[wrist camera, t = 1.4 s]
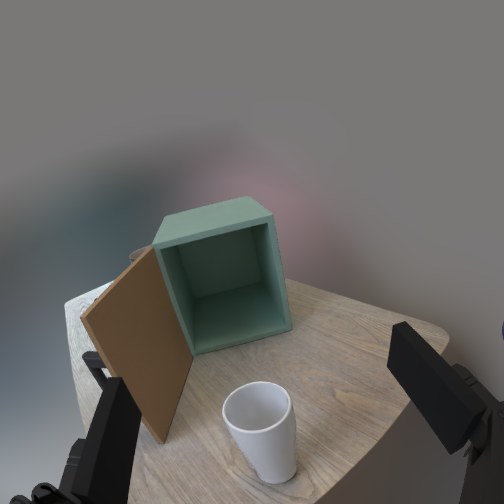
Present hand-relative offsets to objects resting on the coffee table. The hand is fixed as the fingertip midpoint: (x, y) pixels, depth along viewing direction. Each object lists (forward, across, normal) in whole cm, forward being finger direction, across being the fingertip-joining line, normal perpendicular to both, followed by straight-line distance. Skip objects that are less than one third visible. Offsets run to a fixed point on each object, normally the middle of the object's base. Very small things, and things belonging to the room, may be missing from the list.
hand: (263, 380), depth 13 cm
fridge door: (+27, -17, -27) cm, 42 cm away
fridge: (+51, -2, -26) cm, 57 cm away
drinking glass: (+9, 0, -27) cm, 28 cm away
